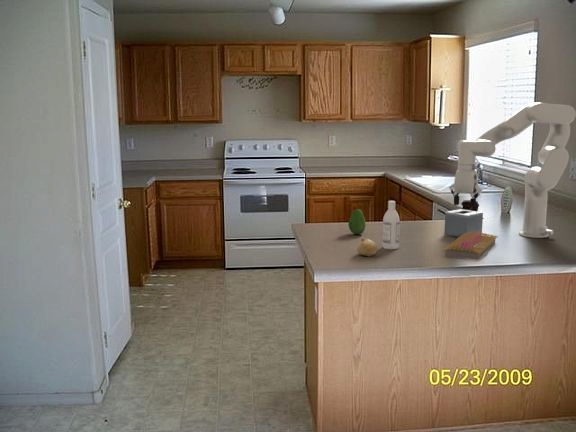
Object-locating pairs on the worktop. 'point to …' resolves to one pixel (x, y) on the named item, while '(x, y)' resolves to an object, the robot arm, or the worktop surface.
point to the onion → (366, 247)
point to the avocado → (357, 222)
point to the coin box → (462, 222)
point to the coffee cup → (467, 206)
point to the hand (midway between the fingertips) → (464, 205)
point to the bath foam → (391, 227)
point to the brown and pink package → (470, 245)
